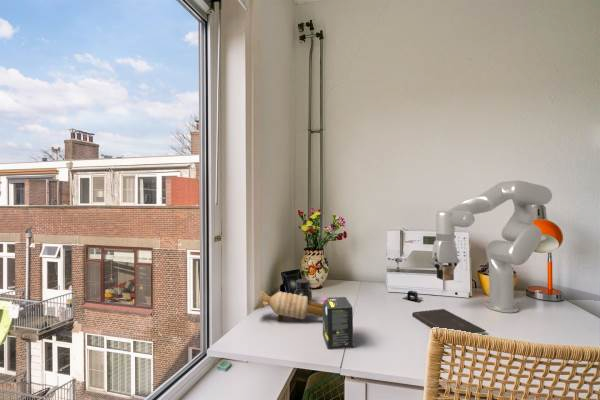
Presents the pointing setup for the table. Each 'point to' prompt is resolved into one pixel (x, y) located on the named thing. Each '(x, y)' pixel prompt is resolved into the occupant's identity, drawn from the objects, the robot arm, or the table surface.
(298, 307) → the tan long ribbed piece
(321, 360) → the table surface
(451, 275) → the walnut block
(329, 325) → the tampon box
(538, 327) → the table surface
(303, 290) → the ink bottle
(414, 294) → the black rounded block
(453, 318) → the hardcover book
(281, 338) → the table surface
